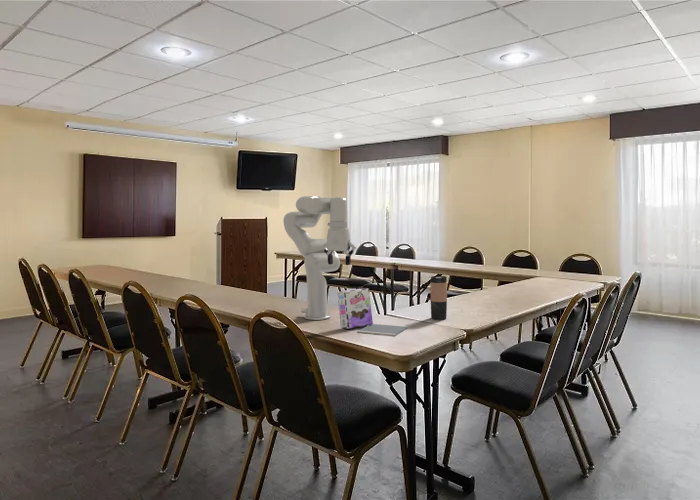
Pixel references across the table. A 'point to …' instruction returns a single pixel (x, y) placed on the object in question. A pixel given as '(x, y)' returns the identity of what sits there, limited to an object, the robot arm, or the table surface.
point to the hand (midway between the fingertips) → (339, 264)
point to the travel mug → (438, 297)
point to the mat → (383, 329)
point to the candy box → (354, 308)
